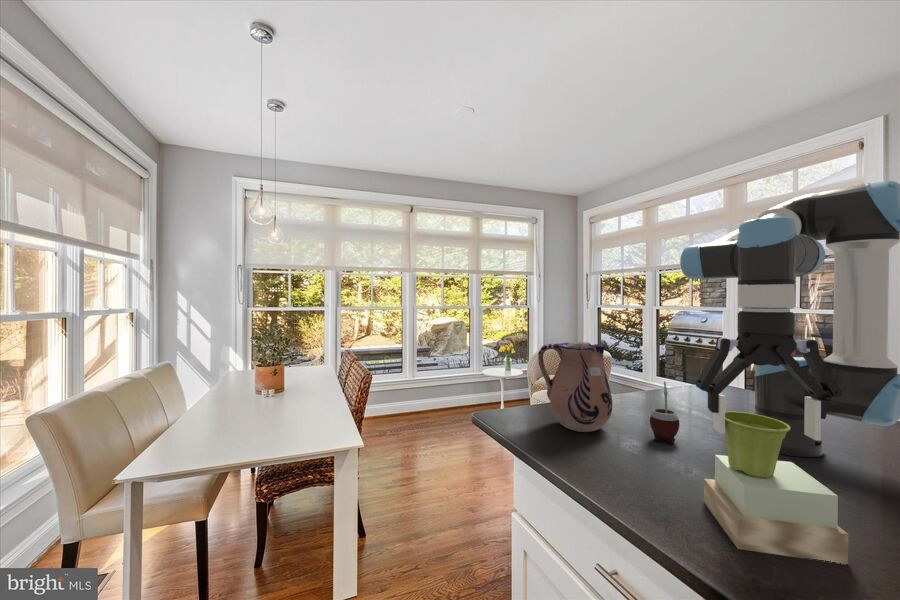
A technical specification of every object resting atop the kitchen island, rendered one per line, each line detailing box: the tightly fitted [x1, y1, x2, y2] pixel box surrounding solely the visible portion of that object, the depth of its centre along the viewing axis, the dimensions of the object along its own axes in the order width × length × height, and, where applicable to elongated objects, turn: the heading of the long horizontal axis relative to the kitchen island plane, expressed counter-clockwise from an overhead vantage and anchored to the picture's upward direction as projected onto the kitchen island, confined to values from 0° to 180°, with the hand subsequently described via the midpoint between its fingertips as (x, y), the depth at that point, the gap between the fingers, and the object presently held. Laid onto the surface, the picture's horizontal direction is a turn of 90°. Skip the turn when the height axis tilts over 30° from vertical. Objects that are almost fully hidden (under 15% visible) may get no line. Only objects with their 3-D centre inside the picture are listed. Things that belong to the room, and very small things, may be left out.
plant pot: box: [725, 410, 790, 477], centre depth 66 cm, size 9×9×9 cm
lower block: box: [703, 478, 849, 565], centre depth 65 cm, size 14×14×5 cm
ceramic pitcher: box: [537, 341, 613, 433], centre depth 115 cm, size 18×21×25 cm
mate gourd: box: [649, 381, 680, 446], centre depth 105 cm, size 8×8×15 cm
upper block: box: [714, 454, 839, 529], centre depth 65 cm, size 12×12×5 cm
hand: (764, 434), depth 66 cm, fingers open, 13 cm apart
